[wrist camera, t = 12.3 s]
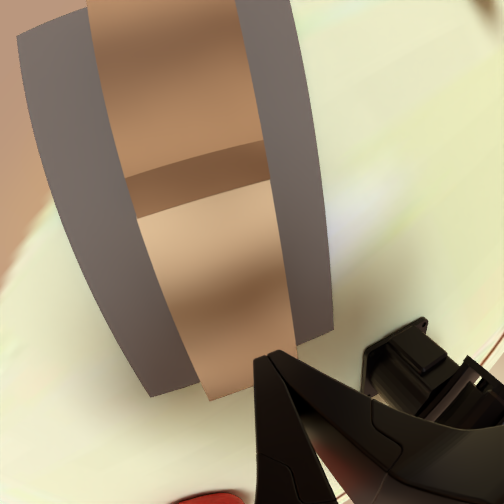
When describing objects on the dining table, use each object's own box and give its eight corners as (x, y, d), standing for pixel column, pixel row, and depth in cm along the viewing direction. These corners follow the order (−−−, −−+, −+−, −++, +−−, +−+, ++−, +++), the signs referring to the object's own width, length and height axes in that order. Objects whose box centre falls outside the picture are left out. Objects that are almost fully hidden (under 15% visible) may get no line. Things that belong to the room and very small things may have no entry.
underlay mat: (329, 325, 20) (333, 329, 20) (149, 391, 18) (150, 397, 17) (279, -19, 11) (283, -23, 11) (20, 38, 9) (16, 36, 8)
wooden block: (249, 168, 14) (270, 179, 12) (137, 201, 13) (137, 218, 11) (211, -11, 10) (226, -34, 8) (93, 14, 9) (85, -7, 7)
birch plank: (280, 340, 18) (299, 367, 16) (199, 369, 17) (209, 401, 15) (243, 143, 13) (264, 148, 11) (128, 175, 12) (126, 187, 10)
